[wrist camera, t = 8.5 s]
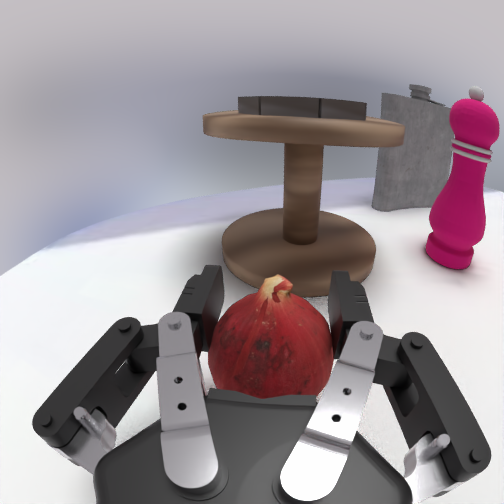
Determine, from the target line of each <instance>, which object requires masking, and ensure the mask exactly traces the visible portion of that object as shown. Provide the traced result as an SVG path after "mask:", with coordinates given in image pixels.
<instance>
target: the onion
mask: <svg viewBox="0 0 504 504" xmlns="http://www.w3.org/2000/svg"><path fill="white" fill-rule="evenodd" d="M292 287H293V284H292V283H291V282H290V281H289V280H287V279H286V278H285V277H283V276H281V275H279V274H278V275H276V276H274V277H271V278H266V279H265V280H264V283H263V285H262V286H261V288H260V289H259V290H258V292H257V293H253V294H249V295H247V296H246V297H244V298H242V299H241V300H239V301H237V302H236V303H234V304H233V305H232V306H231V307H230V308H229V309H228V310H227V311H226V312H225V313H224V315H223V316H222V317H221V318H220V320H219V321H218V323H217V324H216V326H215V328H214V332H213V337H212V342H211V346H210V349H209V352H208V365H209V368H210V371H211V374H212V377H213V380H214V383H215V385H216V387H217V389H223V390H232V391H237V392H241V393H244V394H247V395H250V396H253V397H257V398H260V399H266V398H272V397H279V396H285V395H316V397H317V395H318V394H319V393H320V392H321V391H322V390H323V388H324V387H325V386H326V384H327V383H328V381H329V378H330V374H331V370H332V366H333V361H334V358H333V348H332V336H331V332H330V329H329V325H328V323H327V321H326V320H325V318H324V317H323V316H322V315H321V314H320V313H319V312H318V311H317V310H316V309H315V308H314V307H313V306H312V305H311V304H310V303H309V302H308V301H306V300H305V299H303V298H301V297H299V296H297V295H294V294H292V293H290V291H291V290H292Z"/></svg>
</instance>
